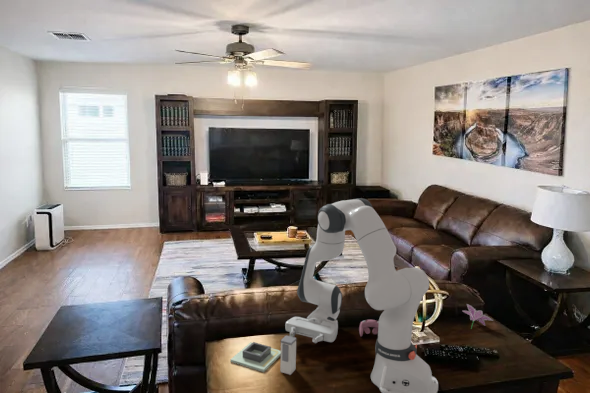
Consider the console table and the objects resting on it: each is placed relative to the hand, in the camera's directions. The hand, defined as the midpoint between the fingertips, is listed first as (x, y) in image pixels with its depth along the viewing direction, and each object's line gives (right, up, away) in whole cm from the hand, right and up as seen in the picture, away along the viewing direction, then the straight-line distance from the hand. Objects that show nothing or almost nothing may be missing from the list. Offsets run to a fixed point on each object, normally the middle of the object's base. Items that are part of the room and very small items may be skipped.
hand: (302, 338), depth 173 cm
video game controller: (+29, -4, +18) cm, 34 cm away
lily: (+75, -3, +28) cm, 80 cm away
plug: (-5, -9, -9) cm, 13 cm away
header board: (-17, -7, -1) cm, 18 cm away
